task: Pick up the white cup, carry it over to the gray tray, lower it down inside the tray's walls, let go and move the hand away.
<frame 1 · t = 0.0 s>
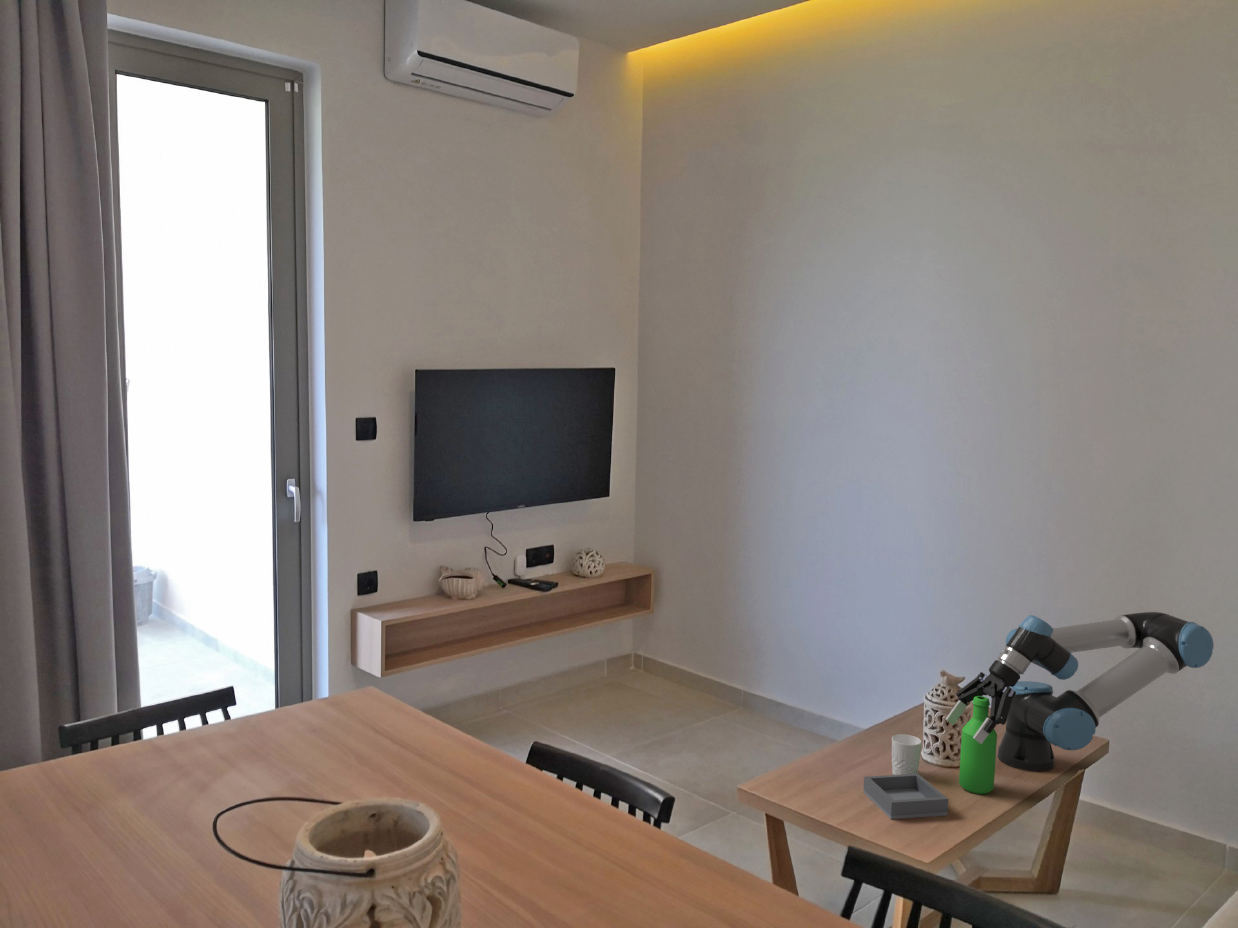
hand: (962, 731, 253), 15 cm above the table, tool tilted 35°, fingers open, 13 cm apart
bottle: (975, 788, 254), on the table
white cup: (904, 775, 262), on the table
gray tray: (904, 803, 243), on the table
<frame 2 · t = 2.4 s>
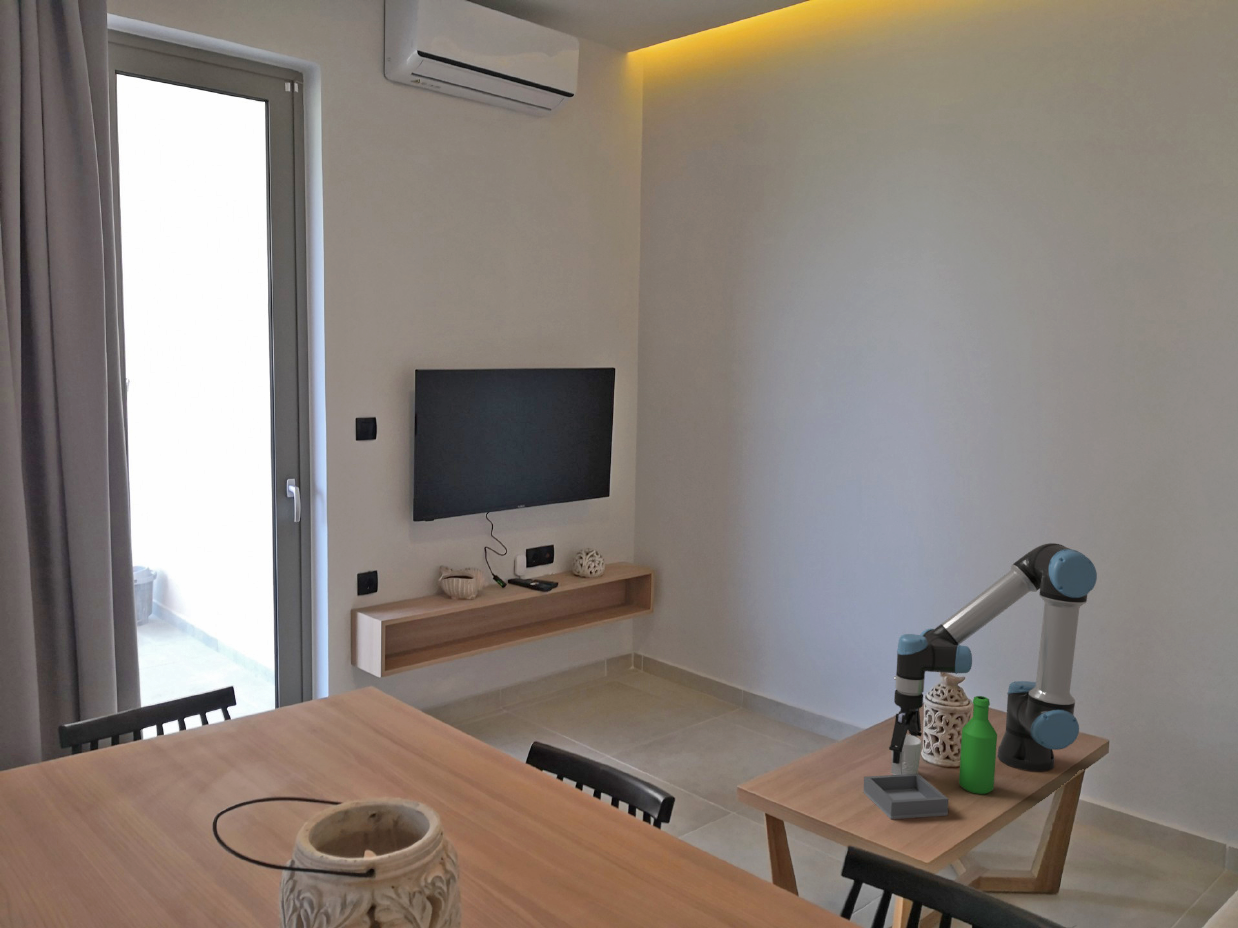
hand: (904, 765, 262), 2 cm above the table, tool pointing down, fingers open, 13 cm apart
nothing on the table moved.
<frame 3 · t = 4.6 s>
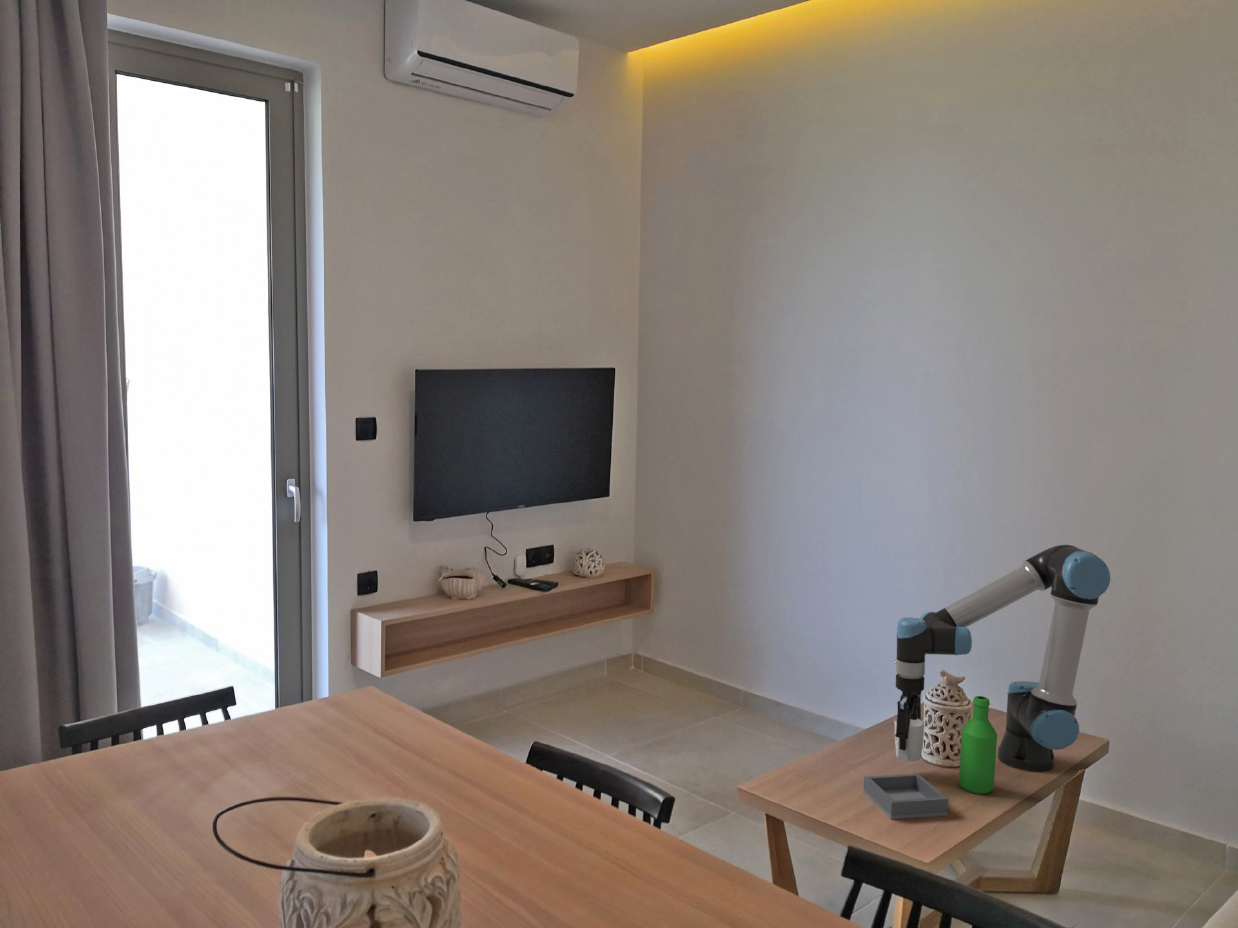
hand: (907, 755, 261), 5 cm above the table, tool pointing down, fingers closed on white cup, 7 cm apart
white cup: (908, 757, 261), point 5 cm above the table, touching gripper
everything else where it was.
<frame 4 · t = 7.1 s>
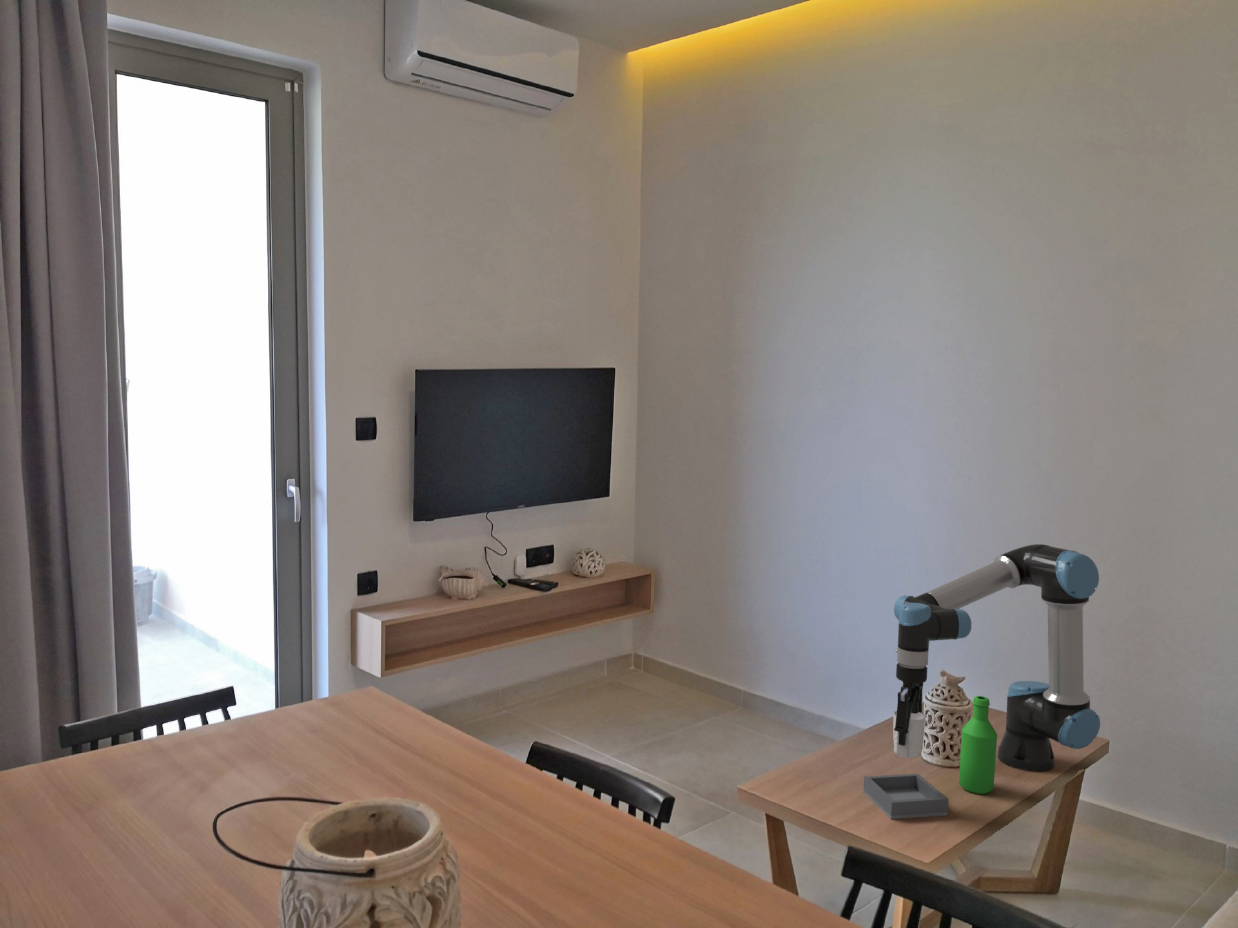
hand: (907, 751, 242), 14 cm above the table, tool pointing down, fingers closed on white cup, 7 cm apart
white cup: (907, 753, 242), point 13 cm above the table, touching gripper
everything else where it was.
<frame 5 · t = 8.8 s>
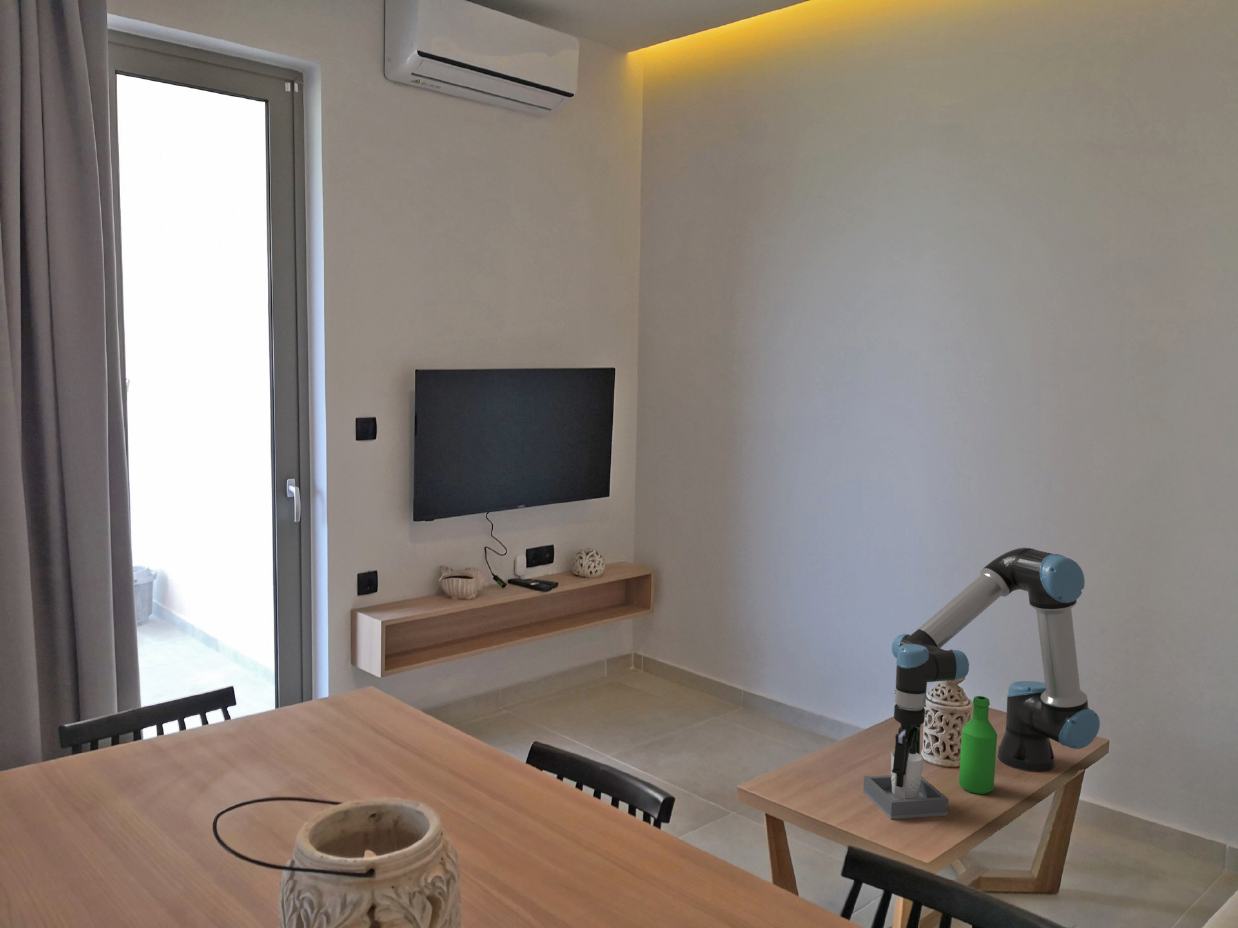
hand: (904, 791, 243), 3 cm above the table, tool pointing down, fingers closed on white cup, 7 cm apart
white cup: (905, 793, 243), point 3 cm above the table, touching gripper
everything else where it was.
when the fingers open (2 cm above the table, at t = 9.9 s): white cup moves 1 cm, resting on gray tray.
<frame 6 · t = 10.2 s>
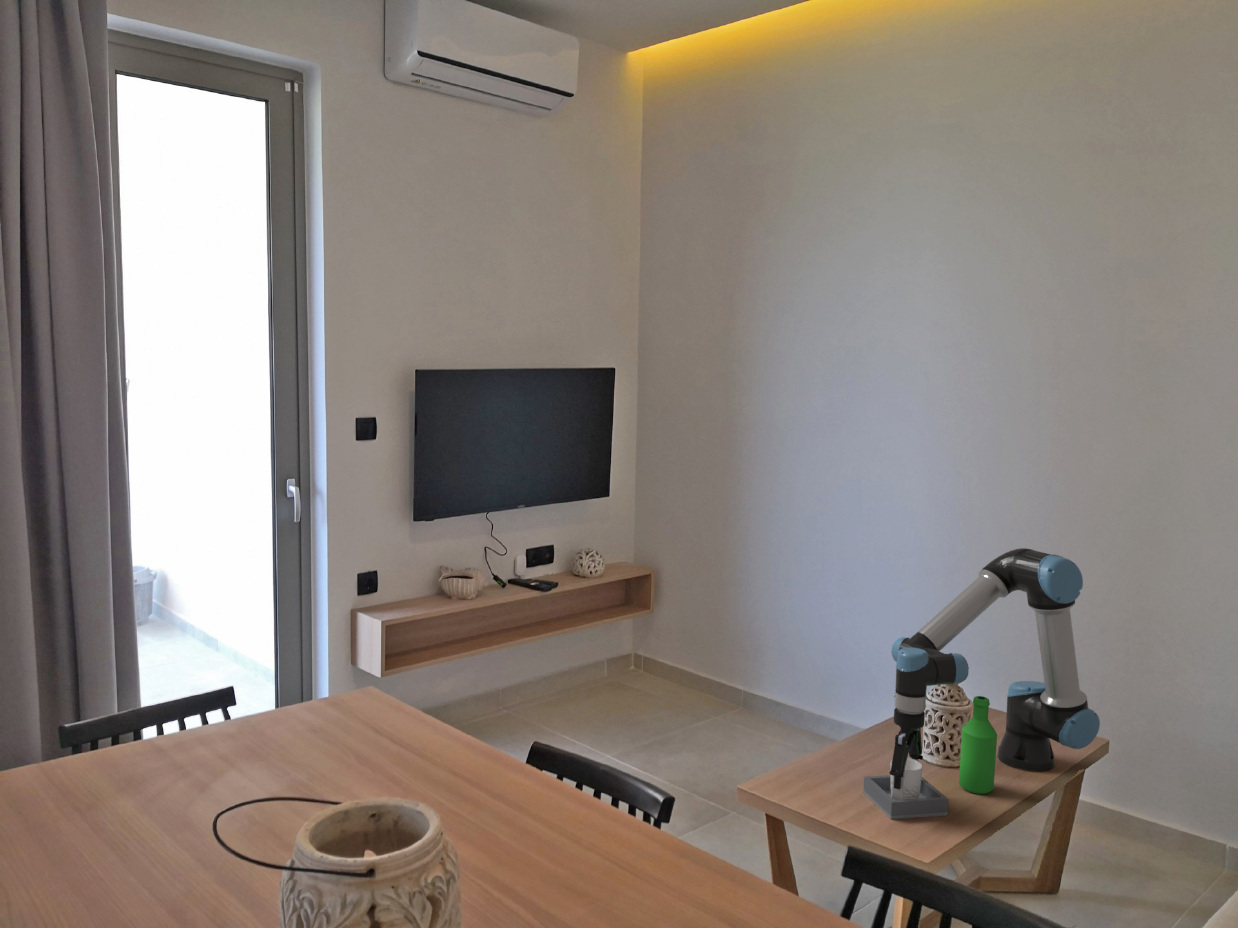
hand: (905, 791, 243), 3 cm above the table, tool pointing down, fingers open, 11 cm apart
white cup: (904, 802, 243), point 1 cm above the table, touching gray tray
everything else where it was.
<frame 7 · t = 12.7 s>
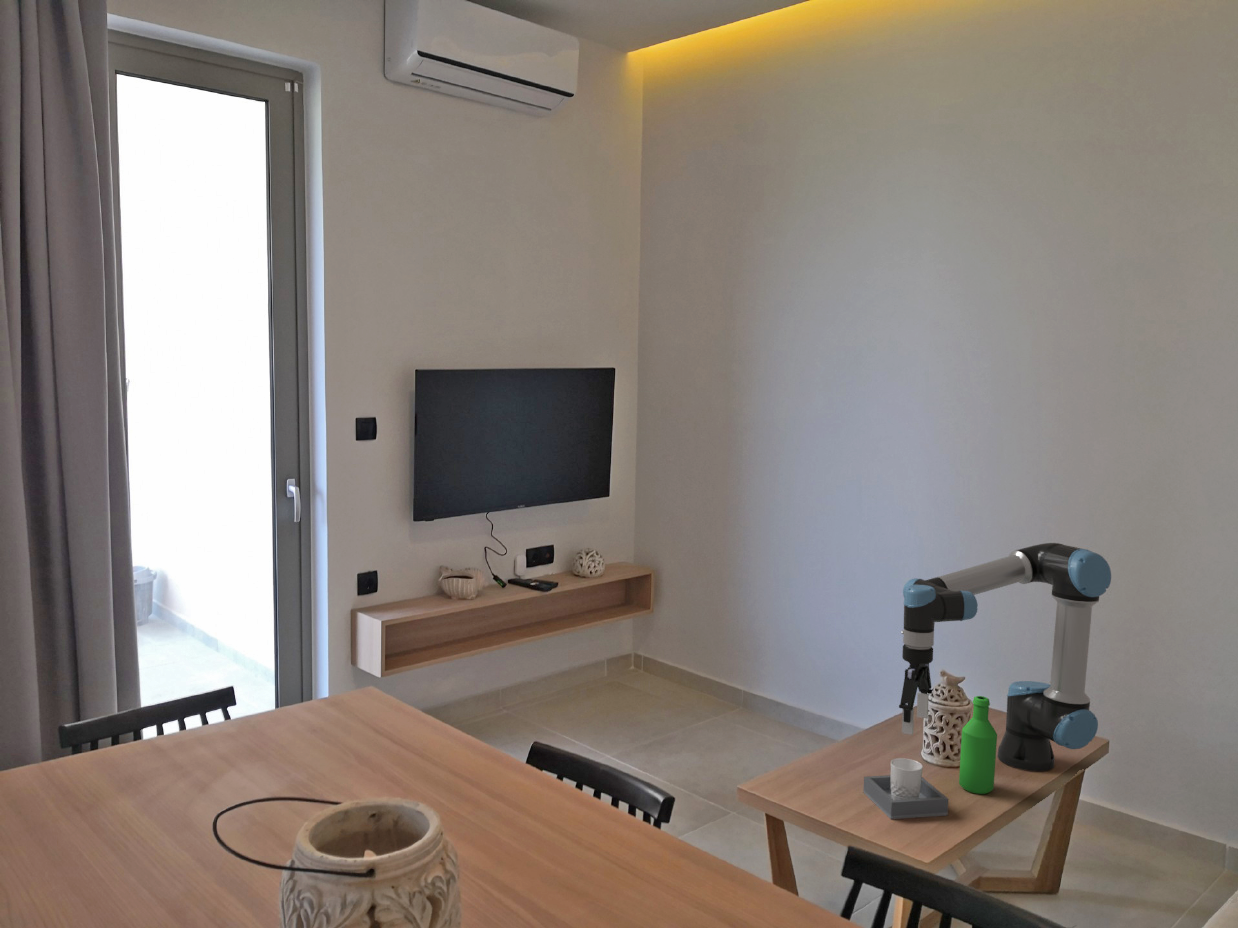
hand: (915, 725, 246), 19 cm above the table, tool pointing down, fingers open, 13 cm apart
nothing on the table moved.
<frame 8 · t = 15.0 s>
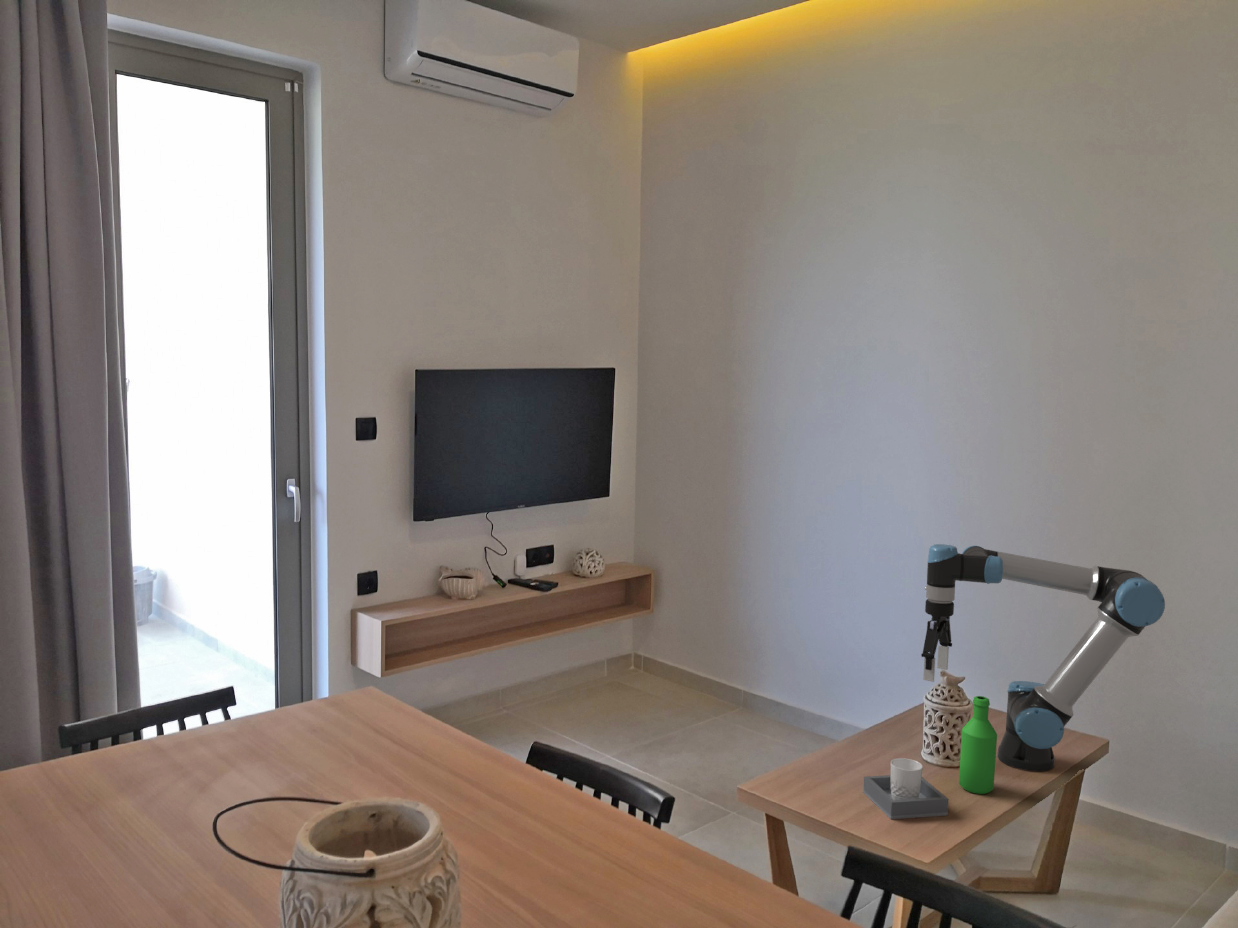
hand: (935, 674, 265), 27 cm above the table, tool pointing down, fingers open, 13 cm apart
nothing on the table moved.
at the end: white cup 0.7 cm off-centre on the gray tray, point 0.6 cm above the gray tray's base; white cup tilted 0°; the gripper is holding nothing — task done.
